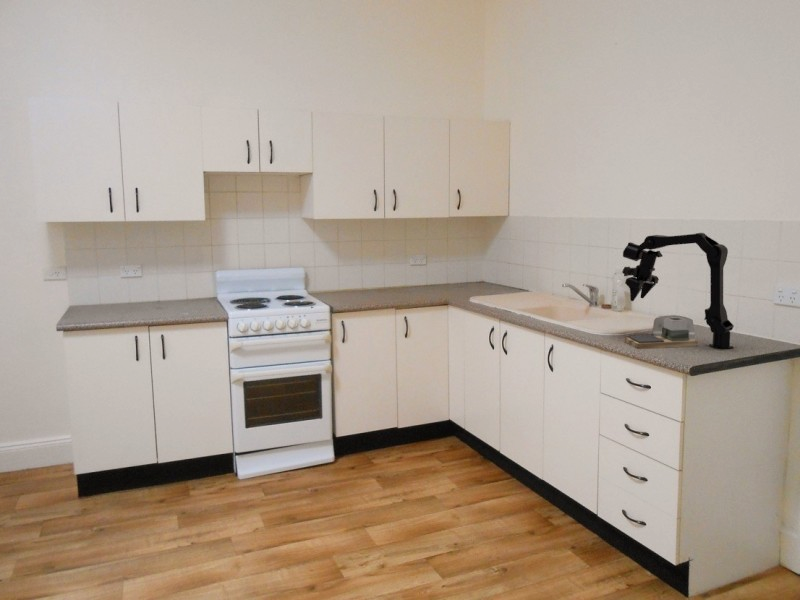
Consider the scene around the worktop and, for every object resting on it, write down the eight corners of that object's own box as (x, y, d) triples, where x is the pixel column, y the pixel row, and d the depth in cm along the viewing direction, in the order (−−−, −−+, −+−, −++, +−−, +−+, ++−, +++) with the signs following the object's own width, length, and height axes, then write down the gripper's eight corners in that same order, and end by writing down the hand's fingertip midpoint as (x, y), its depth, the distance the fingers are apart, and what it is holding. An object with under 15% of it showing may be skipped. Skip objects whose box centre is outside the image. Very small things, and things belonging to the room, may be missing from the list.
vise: (697, 346, 251) (698, 323, 250) (637, 348, 250) (638, 326, 248) (680, 339, 263) (681, 317, 262) (624, 341, 262) (625, 320, 260)
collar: (687, 330, 253) (687, 320, 252) (671, 330, 252) (671, 320, 252) (679, 326, 259) (679, 317, 258) (663, 327, 259) (664, 317, 258)
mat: (664, 342, 251) (664, 340, 251) (639, 343, 250) (639, 341, 250) (652, 336, 261) (652, 335, 261) (628, 337, 260) (628, 336, 260)
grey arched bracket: (652, 337, 269) (652, 313, 270) (651, 338, 273) (651, 315, 275) (695, 338, 264) (695, 314, 266) (694, 340, 268) (694, 316, 270)
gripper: (639, 257, 277) (629, 290, 282) (618, 260, 264) (609, 296, 270) (663, 264, 270) (653, 299, 275) (643, 269, 257) (633, 305, 262)
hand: (636, 299), depth 271 cm, fingers open, 9 cm apart
